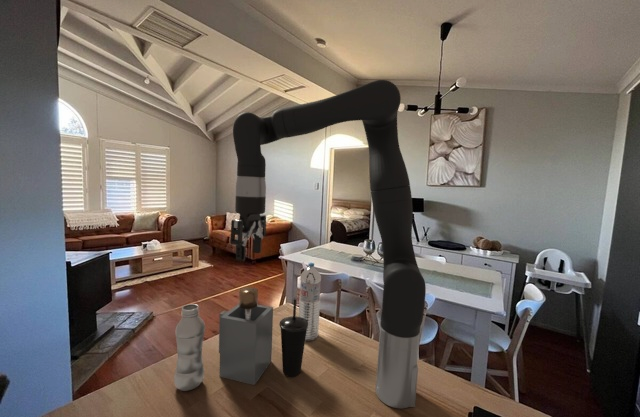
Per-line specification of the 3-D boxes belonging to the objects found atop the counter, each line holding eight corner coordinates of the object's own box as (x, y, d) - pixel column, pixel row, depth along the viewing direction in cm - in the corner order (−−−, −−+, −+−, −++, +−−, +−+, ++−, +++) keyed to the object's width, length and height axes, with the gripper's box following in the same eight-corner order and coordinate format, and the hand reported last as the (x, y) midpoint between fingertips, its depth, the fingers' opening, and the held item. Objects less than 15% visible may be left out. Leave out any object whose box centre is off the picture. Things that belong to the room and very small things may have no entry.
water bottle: (295, 332, 96) (298, 260, 94) (314, 330, 98) (318, 260, 96) (300, 343, 90) (303, 266, 87) (320, 340, 92) (324, 265, 89)
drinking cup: (301, 383, 72) (305, 308, 70) (273, 377, 73) (276, 304, 71) (308, 364, 79) (312, 296, 77) (283, 360, 81) (285, 292, 79)
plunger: (263, 358, 79) (266, 287, 77) (251, 374, 72) (254, 297, 70) (242, 353, 80) (243, 284, 79) (228, 368, 74) (230, 293, 72)
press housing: (271, 361, 80) (273, 307, 78) (254, 385, 70) (256, 324, 69) (230, 352, 83) (232, 300, 82) (209, 374, 74) (210, 315, 72)
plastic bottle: (175, 379, 71) (176, 303, 69) (204, 374, 73) (205, 300, 72) (172, 397, 65) (172, 314, 63) (203, 391, 67) (204, 311, 66)
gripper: (250, 196, 64) (248, 265, 66) (275, 194, 78) (273, 252, 80) (221, 194, 66) (220, 261, 68) (251, 193, 80) (249, 249, 81)
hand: (249, 256), depth 74 cm, fingers open, 8 cm apart
